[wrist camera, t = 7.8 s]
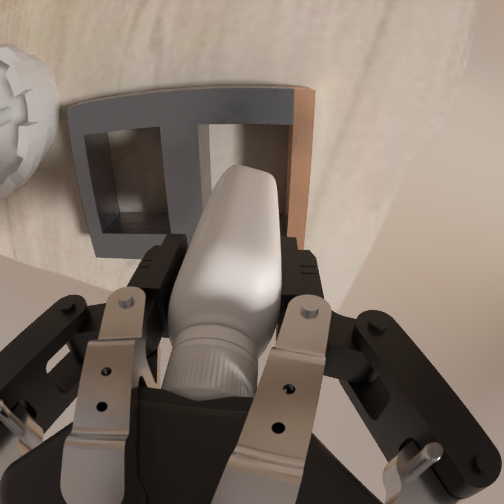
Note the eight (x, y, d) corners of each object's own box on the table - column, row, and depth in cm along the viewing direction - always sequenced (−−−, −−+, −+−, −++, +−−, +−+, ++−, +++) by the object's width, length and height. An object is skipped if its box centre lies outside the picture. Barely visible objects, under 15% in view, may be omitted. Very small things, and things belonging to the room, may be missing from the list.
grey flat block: (90, 99, 20) (66, 106, 17) (308, 87, 19) (315, 90, 16) (112, 235, 26) (96, 257, 23) (298, 239, 26) (301, 264, 23)
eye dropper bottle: (173, 224, 16) (74, 439, 6) (246, 148, 14) (191, 377, 4) (233, 273, 18) (202, 492, 8) (310, 209, 16) (360, 454, 5)
